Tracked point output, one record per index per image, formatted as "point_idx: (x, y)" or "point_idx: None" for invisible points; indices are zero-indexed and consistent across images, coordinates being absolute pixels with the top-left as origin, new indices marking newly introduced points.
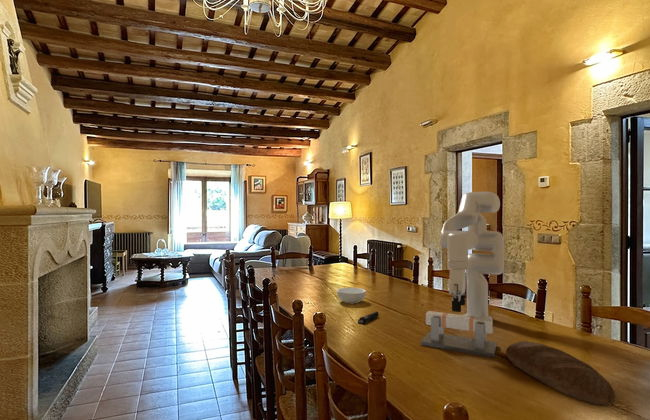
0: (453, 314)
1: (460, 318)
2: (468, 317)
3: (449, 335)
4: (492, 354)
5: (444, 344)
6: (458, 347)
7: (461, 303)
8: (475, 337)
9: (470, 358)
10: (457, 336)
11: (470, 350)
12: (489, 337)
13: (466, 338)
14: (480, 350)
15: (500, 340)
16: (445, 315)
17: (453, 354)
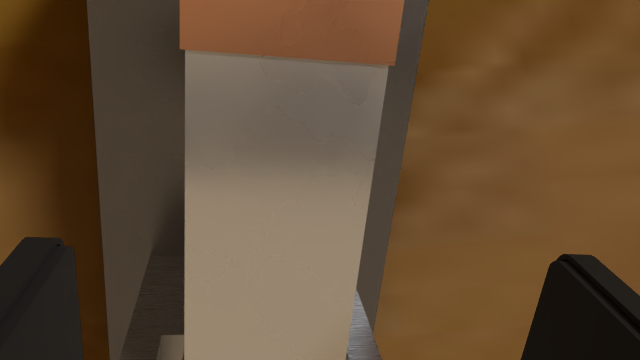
0: (346, 158)
1: (185, 269)
2: (265, 355)
3: (407, 23)
4: (111, 357)
5: (113, 3)
6: (99, 136)
7: (543, 351)
8: (132, 315)
9: (6, 221)
10: (403, 98)
11: (103, 225)
12: (528, 293)
13: (374, 174)
14: (126, 292)
15: (483, 353)
16: (205, 43)
17: (12, 93)
